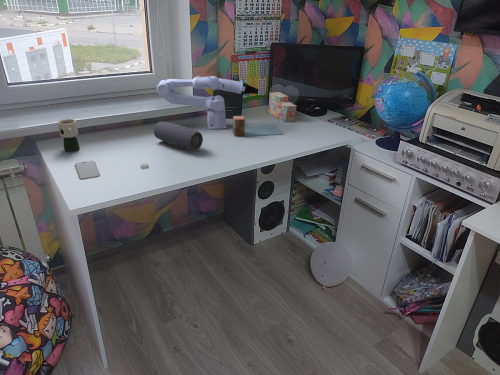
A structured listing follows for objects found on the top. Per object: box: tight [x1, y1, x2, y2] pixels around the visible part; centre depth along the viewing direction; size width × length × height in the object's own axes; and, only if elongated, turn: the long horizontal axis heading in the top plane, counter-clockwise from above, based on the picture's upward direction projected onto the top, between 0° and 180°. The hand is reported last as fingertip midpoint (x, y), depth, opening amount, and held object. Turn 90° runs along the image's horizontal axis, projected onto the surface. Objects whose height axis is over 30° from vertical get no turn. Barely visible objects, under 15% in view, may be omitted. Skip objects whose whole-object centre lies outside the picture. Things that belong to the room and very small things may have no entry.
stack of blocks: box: [268, 91, 297, 123], centre depth 220 cm, size 21×6×12 cm, turn 25°
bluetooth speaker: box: [153, 121, 204, 151], centre depth 172 cm, size 23×9×10 cm, turn 56°
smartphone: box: [74, 160, 101, 180], centre depth 147 cm, size 7×1×15 cm
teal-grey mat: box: [244, 124, 284, 137], centre depth 198 cm, size 20×14×1 cm
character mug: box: [57, 118, 81, 152], centre depth 162 cm, size 11×7×13 cm, turn 33°
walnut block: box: [232, 115, 246, 137], centre depth 189 cm, size 5×5×9 cm
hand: (257, 90), depth 194 cm, fingers open, 7 cm apart
